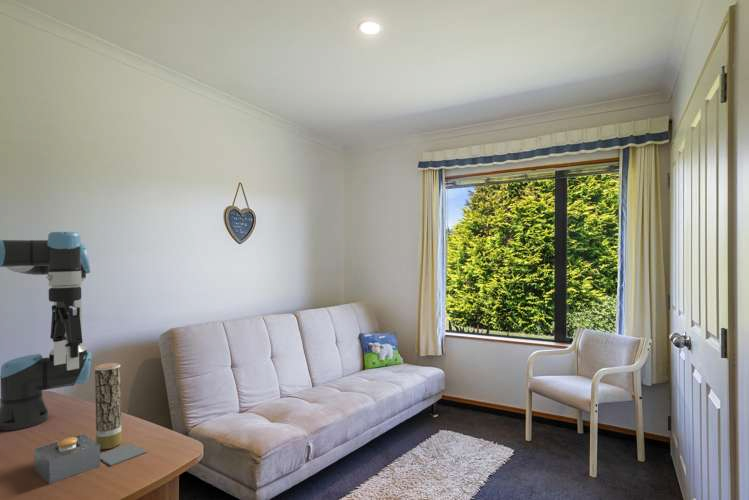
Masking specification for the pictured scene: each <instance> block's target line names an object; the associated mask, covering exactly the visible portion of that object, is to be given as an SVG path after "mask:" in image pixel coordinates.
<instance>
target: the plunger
mask: <svg viewBox="0 0 749 500" xmlns="http://www.w3.org/2000/svg"><path fill="white" fill-rule="evenodd" d="M76 443H77V438H76V436H73V437H72V436H71V437H66V438H63V439H60V440H59V441H57V446H58V447H59V452H63V451H66V450H69V449H73V448H76Z"/></svg>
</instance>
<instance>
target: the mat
mask: <svg viewBox="0 0 749 500" xmlns="http://www.w3.org/2000/svg"><path fill="white" fill-rule="evenodd" d="M147 453H148V451H147V450H145V449H144V448H141V447H140V446H138V445H136V444H134V443H132V442H131V443H128V444H124V445H121V446H118V447H117V448H116V447H115V448H112V449H109V450H108V451H107V450H106V451H105V452H101V453H100V461H102V462H103V463H104V464H107V465H108V466H110V467H112V466H116V465H118V464H120V463H123V462H126V461H129V460H131V459H134V458H137V457H139V456H142V455H144V454H147Z"/></svg>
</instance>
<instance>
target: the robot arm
mask: <svg viewBox="0 0 749 500" xmlns="http://www.w3.org/2000/svg"><path fill="white" fill-rule="evenodd" d="M87 249H88V248H87V247H86V244H84V243H82V242H81V234H80V233H79V232H76V231H52V232H51V231H50V232H49V233H48V235H47V240H46V239H42V240H41V239H38V240H37V239H36V240H35V239H34V240H33V239H31V240H30V239H29V240H27V239H25V240H24V239H23V240H22V239H19V240H18V239H4V240H3V239H0V268H6V269H7V270H9V271H12V272H15V273H20V274H24V275H32V276H33V275H34V276H38V275H39V276H40V275H41V276H42V275H44V276H45V275H46V279H47V281H48V286H49V287H50V288H49V289H48V301H49V302H52V303H53V305H51V325H50V336H49V337H50V339H52V341H53V348H52V349H51V350H50V351H49V352H48V353H49V356H47V357H43V355H42V354H41V353H36V354H35V353H34V354H29V355H24V356H20V357H16V358H13V359H10V360H8V361H5V362H3V364H2V365H1V367H0V430H2V432H7V431H16V430H17V431H18V430H21V429H26V428H30V427H34V426H38V425H39V424H41V423H44V422H46V421H47V420H48V419H49V418H50V413H49V409H48V407H47V404H46V402H45V400H44V398H43V391H46V390H53V389H59V388H65V387H66V388H67V387H75V386H77V385H83V384H85V383H87V381H88V380H89V377H90V372H91V371H90V370H91V363H92V352H91V351H88V348H87V347H86V346H85V345H83V333H82V332H83V331H82V330H83V327H82V326H83V324H82V323H83V322H82V321H83V320H82V317H83V316H82V314H83V313H82V312H83V311H82V282H83V281H84V280H85V279H86V278H87V277H86V275H87V274H89V273H91V267H90V261H89V255H88V250H87Z"/></svg>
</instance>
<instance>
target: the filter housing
mask: <svg viewBox="0 0 749 500" xmlns="http://www.w3.org/2000/svg"><path fill="white" fill-rule="evenodd" d="M75 437H76V438H77V443H76V448H73V449H69V450H66V451H63V452H59V447H58V446H57V442H58V441H57V442H53V443H50V444H47V445H43V446H40V447H38V448H34V449H33V451H34V453H33V454H34V455H33V456H34V459H33V461H34V465H33V466H34V472H35V473H36V474H38V475H39V476H40V477H41V479H43V480H44V481H46V482H47V483H48V484H49V485H51V484H53V483H57V482H59V481H63V480H65V479H67V478H70V477H73V476H75V475H78V474H81V473H84V472H87V471H89V470H91V469H94V468H97V467H101V460H100V454H101V449H100V444H99V443H97V442H96V440H94V439H92V438H91V437H89V436H88V435H85V434H84V433H83V434H80V435H77V436H75Z"/></svg>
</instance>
